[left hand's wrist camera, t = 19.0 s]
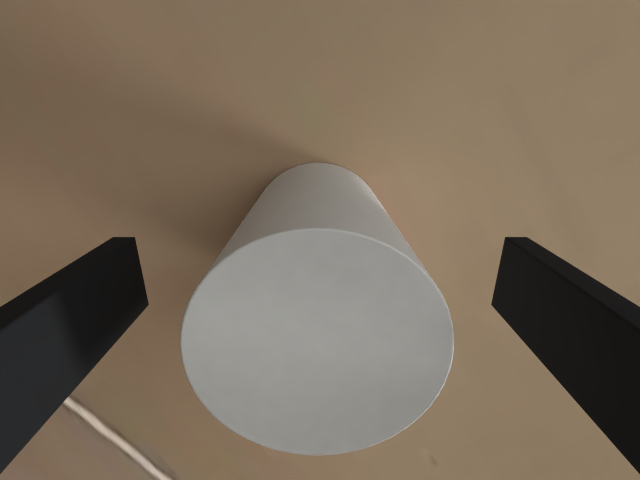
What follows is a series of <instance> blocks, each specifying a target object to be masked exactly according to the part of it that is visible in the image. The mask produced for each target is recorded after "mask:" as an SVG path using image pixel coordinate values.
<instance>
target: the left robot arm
mask: <svg viewBox="0 0 640 480" xmlns="http://www.w3.org/2000/svg"><path fill="white" fill-rule="evenodd" d="M148 305H149V304H148V299H147V294H146V289H145V285H144V280H143V275H142V270H141V265H140V260H139V255H138V251H137V246H136V241H135V237H113V238H111V239H109V240H108V241H106V242H105V243H103V244H101V245H100V246H98V247H96V248H95V249H93V250H92V251H90V252H88V253H87V254H85V255H84V256H82V257H80V258H79V259H77V260H75V261H74V262H72V263H71V264H69V265H67V266H66V267H64V268H63V269H61V270H59V271H58V272H56V273H54V274H53V275H51V276H50V277H48V278H46V279H45V280H43V281H42V282H40V283H38V284H37V285H35V286H33V287H32V288H30V289H29V290H27V291H25V292H24V293H22V294H21V295H19V296H17V297H16V298H14V299H12V300H11V301H9V302H8V303H6V304H4V305H3V306H1V307H0V474H1V473H2V471H3V470H4V469H5V468H6V467H7V466H8V465H9V463H10V462H11V461H12V460H13V459H14V458H15V457H16V455H17V454H18V453H19V452H20V451H21V450H22V449H23V447H24V446H25V445H26V444H27V443H28V442H29V441H30V439H31V438H32V437H33V436H34V435H35V434H36V433H37V431H38V430H39V429H40V428H41V427H42V426H43V425H44V423H45V422H46V421H47V420H48V419H49V418H50V417H51V415H52V414H53V413H54V412H55V411H56V410H57V409H58V408H59V406H60V405H61V404H62V403H63V402H64V401H65V400H66V398H67V397H68V396H69V395H70V394H71V393H72V392H73V390H74V389H75V388H76V387H77V386H78V385H79V384H80V382H81V381H82V380H83V379H84V378H85V377H86V376H87V374H88V373H89V372H90V371H91V370H92V369H93V368H94V366H95V365H96V364H97V363H98V362H99V361H100V360H101V358H102V357H103V356H104V355H105V354H106V353H107V352H108V350H109V349H110V348H111V347H112V346H113V345H114V344H115V342H116V341H117V340H118V339H119V338H120V337H121V336H122V334H123V333H124V332H125V331H126V330H127V329H128V328H129V326H130V325H131V324H132V323H133V322H134V321H135V320H136V319H137V317H138V316H139V315H140V314H141V313H142V312H143V311H144V309H145V308H146V307H147V306H148ZM491 305H492V306H493V307H494V308H495V309H496V311H497V312H498V313H499V314H500V315H501V316H502V317H503V319H504V320H505V321H506V322H507V323H508V324H509V325H510V326H511V328H512V329H513V330H514V331H515V332H516V333H517V334H518V336H519V337H520V338H521V339H522V340H523V341H524V342H525V344H526V345H527V346H528V347H529V348H530V349H531V350H532V352H533V353H534V354H535V355H536V356H537V357H538V358H539V360H540V361H541V362H542V363H543V364H544V365H545V366H546V368H547V369H548V370H549V371H550V372H551V373H552V374H553V376H554V377H555V378H556V379H557V380H558V381H559V382H560V384H561V385H562V386H563V387H564V388H565V389H566V390H567V392H568V393H569V394H570V395H571V396H572V397H573V398H574V400H575V401H576V402H577V403H578V404H579V405H580V406H581V408H582V409H583V410H584V411H585V412H586V413H587V414H588V415H589V417H590V418H591V419H592V420H593V421H594V422H595V423H596V425H597V426H598V427H599V428H600V429H601V430H602V431H603V433H604V434H605V435H606V436H607V437H608V438H609V439H610V441H611V442H612V443H613V444H614V445H615V446H616V447H617V449H618V450H619V451H620V452H621V453H622V454H623V455H624V457H625V458H626V459H627V460H628V461H629V462H630V463H631V465H632V466H633V467H634V468H635V469H636V470H637V471H638V473H639V474H640V307H639V306H637V305H636V304H634V303H632V302H631V301H629V300H628V299H626V298H624V297H623V296H621V295H619V294H618V293H616V292H615V291H613V290H611V289H610V288H608V287H607V286H605V285H603V284H602V283H600V282H598V281H597V280H595V279H594V278H592V277H590V276H589V275H587V274H586V273H584V272H582V271H581V270H579V269H577V268H576V267H574V266H573V265H571V264H569V263H568V262H566V261H565V260H563V259H561V258H560V257H558V256H556V255H555V254H553V253H552V252H550V251H548V250H547V249H545V248H544V247H542V246H540V245H539V244H537V243H535V242H534V241H532V240H531V239H529V238H527V237H505V241H504V246H503V251H502V255H501V260H500V265H499V270H498V275H497V280H496V285H495V289H494V294H493V299H492V304H491Z"/></svg>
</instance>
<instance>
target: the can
mask: <svg viewBox="0 0 640 480" xmlns="http://www.w3.org/2000/svg"><path fill="white" fill-rule="evenodd" d="M180 348H181V356H182V362H183V366H184V369H185V373H186V376H187V378H188V380H189V383H190V385H191V387H192V389H193V390H194V392H195V394H196V395H197V397H198V398H199V400H200V401H201V403H202V404H203V405H204V406H205V407H206V409H207V410H208V411H209V412H210V413H211V414H212V415H213V416H214V417H215V418H216V419H217V420H219V421H220V422H221V423H222V424H224V425H225V426H226V427H228V428H229V429H230V430H232V431H233V432H235V433H237V434H238V435H240V436H242V437H244V438H245V439H248V440H250V441H252V442H254V443H257V444H259V445H262V446H265V447H268V448H271V449H274V450H278V451H283V452H288V453H294V454H302V455H331V454H340V453H346V452H352V451H356V450H360V449H363V448H367V447H370V446H372V445H375V444H378V443H380V442H382V441H384V440H386V439H388V438H390V437H392V436H394V435H396V434H398V433H399V432H401V431H402V430H404V429H405V428H407V427H408V426H409V425H411V424H412V423H413V422H414V421H416V420H417V419H418V418H419V417H420V416H421V415H422V414H423V413H424V412H425V411H426V410H427V409H428V408H429V407H430V405H431V404H432V403H433V401H434V400H435V399H436V397H437V396H438V394H439V393H440V391H441V389H442V387H443V385H444V384H445V381H446V379H447V376H448V374H449V371H450V368H451V363H452V358H453V352H454V332H453V323H452V319H451V316H450V312H449V308H448V306H447V304H446V302H445V299H444V297H443V295H442V293H441V292H440V290H439V289H438V287H437V286H436V284H435V282H434V281H433V279H432V278H431V277H430V275H429V274H428V272H427V271H426V269H425V268H424V266H423V265H422V263H421V262H420V260H419V259H418V258H417V256H416V255H415V253H414V252H413V250H412V249H411V247H410V246H409V244H408V243H407V241H406V240H405V239H404V237H403V236H402V234H401V233H400V231H399V230H398V228H397V227H396V225H395V224H394V222H393V221H392V220H391V218H390V217H389V215H388V214H387V212H386V211H385V209H384V208H383V206H382V205H381V203H380V202H379V201H378V199H377V198H376V196H375V195H374V193H373V192H372V190H371V189H370V188H369V186H368V185H367V184H366V183H365V182H364V181H363V180H362V179H361V178H360V177H358V176H357V175H356V174H354V173H353V172H351V171H349V170H347V169H345V168H343V167H340V166H337V165H333V164H328V163H307V164H303V165H299V166H296V167H293V168H291V169H289V170H287V171H285V172H283V173H282V174H280V175H279V176H277V177H276V178H275V179H274V180H273V181H272V182H271V183H270V184H269V185H268V186H267V187H266V189H265V190H264V191H263V193H262V194H261V196H260V197H259V199H258V200H257V201H256V203H255V204H254V206H253V207H252V209H251V210H250V211H249V213H248V214H247V216H246V217H245V219H244V220H243V221H242V223H241V224H240V226H239V227H238V229H237V230H236V231H235V233H234V234H233V236H232V237H231V239H230V240H229V241H228V243H227V244H226V246H225V247H224V248H223V250H222V251H221V253H220V254H219V256H218V257H217V258H216V260H215V261H214V263H213V264H212V266H211V267H210V268H209V270H208V271H207V273H206V274H205V276H204V277H203V278H202V280H201V281H200V283H199V284H198V286H197V287H196V289H195V291H194V293H193V294H192V296H191V298H190V300H189V302H188V305H187V308H186V310H185V313H184V316H183V321H182V326H181V337H180Z"/></svg>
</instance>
